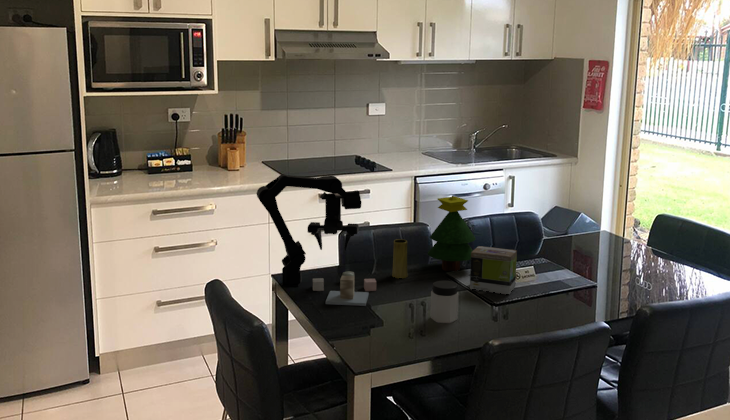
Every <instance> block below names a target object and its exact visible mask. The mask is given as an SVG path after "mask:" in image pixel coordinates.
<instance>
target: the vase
mask: <svg viewBox="0 0 730 420" xmlns="http://www.w3.org/2000/svg"><path fill="white" fill-rule="evenodd" d="M392 251H393V254H392V255H393V256H392V272H391V273H392V274H391V276H392V277H393V278H394V277H395V279H399V278H402V279H406V278H408V276H409V274H408V240H406V239H402V238H401V239H400V238H398V239H394V240H393V250H392Z"/></svg>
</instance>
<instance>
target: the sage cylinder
mask: <svg viewBox="0 0 730 420" xmlns="http://www.w3.org/2000/svg"><path fill="white" fill-rule="evenodd" d="M342 276H355V272H354V271H344V272H342Z"/></svg>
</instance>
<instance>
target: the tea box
mask: <svg viewBox="0 0 730 420" xmlns="http://www.w3.org/2000/svg"><path fill="white" fill-rule="evenodd" d="M472 250H473V251H472V252H471V259H470V272H469V275H470V276H469V289H470V290H472V289H476V290H475V291H479V290H483V291H482V292H486V291H489V292H488V293H493V292H495V293H494V294H500V293H501V295H506V294H509V295H510V294H511V293H512V292H513V291H514V289H515V288H516V280H517V261H518V260H517V257H518V255H517V253H518V250H516V249H507V248H498V247H490V246H482V245H481V246H480V245H478V246H477V247H476V248H474V249H472ZM514 287H515V288H514ZM512 290H513V291H512ZM511 291H512V292H511Z"/></svg>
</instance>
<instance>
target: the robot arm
mask: <svg viewBox="0 0 730 420" xmlns="http://www.w3.org/2000/svg"><path fill="white" fill-rule="evenodd" d="M287 187H290V188H301V189H302V188H303V189H317V190H320V191H323V193H322V194H321V195H319V197H320V199H321V200H323V201H324V200H325V203H324V204H325V218H324V221H323V224H321V222H316V221H310V222H309V223H308V225H307V233H308V234H310V235H312V236H314V237H315V240H316V241H317V244H318V247H319V250H321V251H322V250H323V240H322V238H323V237H322V231H323V233H324V234H325V235H328V234H329V235H330V234H331V235H336V234H338V232H346V234H345V241H344V251H345V252H346V251H347V249H348V245H349V243H350V242H349V241H350V239H351V237H354V236H355V235H358V233H359V231H360V230H359V226H360V225H359V224H358V223H350V222H349V223H347V225H344V223H343V220H342V208H344V209H345V210H356V209H357V210H358V209H361V208H362V198H361V193H360V191H359V190H358V189H357V190H352V191H351V190H350V191H346V190H345V189H344V188H343V183H342V181H341V180H340V179H339V178H338V177H337V176H335V175H323V176H319V177H315V176H314V177H313V176H311V177H310V176H299V175H291V174H289V175H288V174H284V173H282V174H279V176H277V177H276V178H274V179H273V180H272V181H269V182H268V183H267V184H266V185H263V186H260V187H259V188H258V189H257V191H256V198H257V199H258V200H259V201H260V203H261V205H262V206H263V207H264V209H265V210H266V211H267V213H268V214H269V216H270V218H271V220H272V222H273V224H274V225H275V228H276V230H277V232H278V234H279V236H280V238H281V240H282V242H283V244H284V248H285V252H286V255H285V256H284V257H283V258H282V259H281V263H282V265H283V267H282V269H281V272H282V273H281V276H282V278H281V279H282V283H281V287H300V285H301V283H302V280H303V277H302V276H303V274H302V273H303V271H302V270H301V267H302V265H303V264H304V263H305V262H306V255H307V254H306V252H305V250H304V247H303V246H302V244H301V243H300V240H296V241H295V240H294V238H293V235H292V234H291V232H290V230H289V228H288V225H287V224H286V222H285V220H284V218H283V216H282V213H281V212H280V210H279V206H278V202H277V199H276V198H277V196H279V195H280V194H281V192H283V190H284V189H286V188H287ZM336 194H338V195H336ZM341 207H342V208H341Z"/></svg>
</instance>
